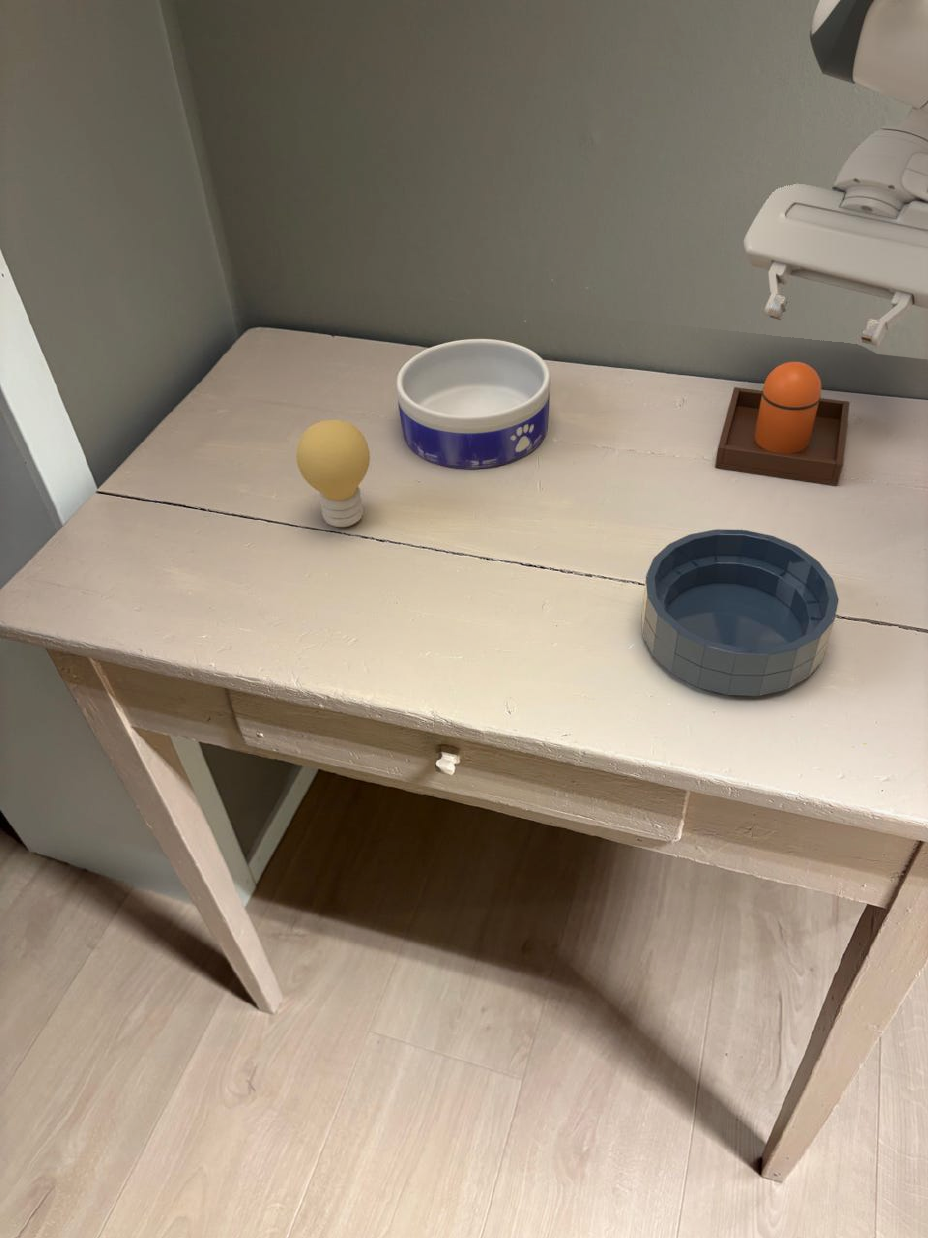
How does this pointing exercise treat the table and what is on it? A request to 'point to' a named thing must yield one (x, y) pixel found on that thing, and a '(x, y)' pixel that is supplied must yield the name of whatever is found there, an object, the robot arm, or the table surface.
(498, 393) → the dog bowl
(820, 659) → the glazed bowl
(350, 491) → the light bulb
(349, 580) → the table surface
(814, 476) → the tray
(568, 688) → the table surface
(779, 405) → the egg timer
